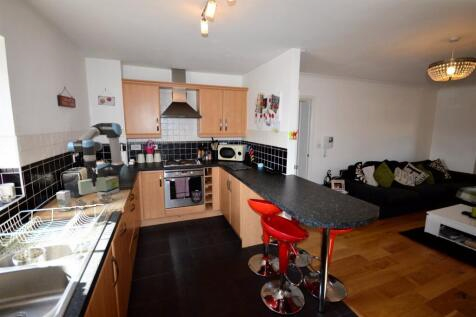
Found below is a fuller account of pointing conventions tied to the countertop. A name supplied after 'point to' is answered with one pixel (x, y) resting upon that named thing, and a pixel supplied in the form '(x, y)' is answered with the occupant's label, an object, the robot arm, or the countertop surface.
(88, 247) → the countertop surface
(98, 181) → the pale green block
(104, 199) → the cradle
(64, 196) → the syrup box
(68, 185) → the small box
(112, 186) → the tea box
